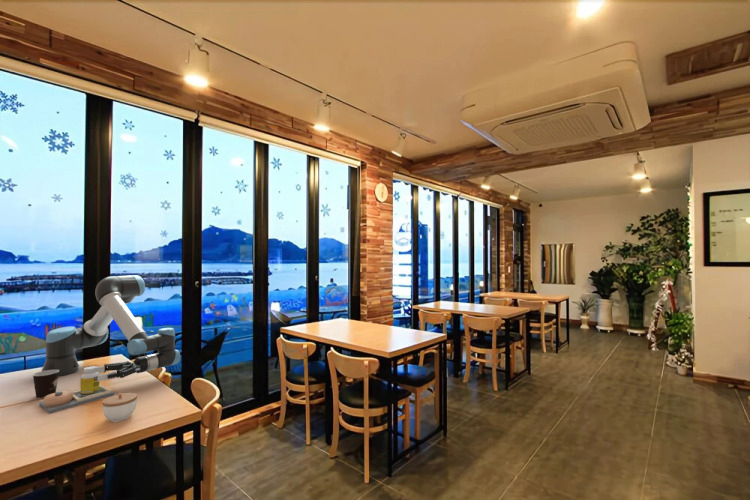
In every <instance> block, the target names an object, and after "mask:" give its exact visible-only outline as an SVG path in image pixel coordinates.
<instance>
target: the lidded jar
mask: <svg viewBox="0 0 750 500" xmlns="http://www.w3.org/2000/svg"><path fill="white" fill-rule="evenodd" d="M137 398H138V394H137V393H134V392H124V393H123V392H122V393H121V392H120V393H118V394H115V395H113V396H110V397H107V398H103V399H102V412H103V415H104V417H105V419H106V420H108V421H109V422H110V421H111V422H110V423H118V422H117V421H119V422H123V421H125V419H126V420H127V418H128V417H129V416H132V414H133V413H134V412H135V410H136V407H137ZM129 418H130V417H129ZM129 418H128V419H129ZM122 420H123V421H122Z"/></svg>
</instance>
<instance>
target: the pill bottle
mask: <svg viewBox="0 0 750 500" xmlns="http://www.w3.org/2000/svg"><path fill="white" fill-rule="evenodd" d="M97 367H98V366H97V365H92V366H86V367H84V368H83V372H84V373H82V374H81V376H80V395H81V396H90V395H94V394H97V393H98V392H99V385H100V382H97V381H98V375H101V374H100V373H99V372H96V370H97Z"/></svg>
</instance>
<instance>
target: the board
mask: <svg viewBox="0 0 750 500" xmlns="http://www.w3.org/2000/svg"><path fill="white" fill-rule="evenodd" d="M80 390H81V389H80ZM80 390H75V391H71V390H61V391H56V393H52V394H49V395H47V396H45V397H44V398H43V400H42V401H39V404H38V405H39V407H40V408H42V409H43V410H44V411H46V412H47V413H48V414H52V413H55V412H60V411H62V410H66V409H70V408H73V407H74V408H75V407H77V406H81V405H84V404H85V405H86V404H88V403H93V402H95V401H100V400H104V399H106V398H108V397H110V396H113V395H116V393H115V392H114V391H113V390H111V389H109V388H107V387H106V386H104V385H102V384H99V392H98V393H97V394H94V395H90V396H81V395H80Z"/></svg>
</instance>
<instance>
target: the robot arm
mask: <svg viewBox="0 0 750 500" xmlns="http://www.w3.org/2000/svg"><path fill="white" fill-rule="evenodd" d="M145 291H146V283H145V281H144V279H143V278H142V276H140V275H137V274H136V275H133V274H132V275H118V276H117V275H116V276H114V275H113V276H107V277H104V278H103V279H101V280H100V281H99V282H98V283H97V284H96V287H95V291H94V292H95V293H94V294H95V298H96V301H97V302H98V303H99V304H98V305H100V307H99V309H98V310H97V312H96V313H95V314H94V315H93V317H92V318H91V319H89V320H87V321H85V323H84V324H83V325H82V326H81V327H75V326H73V325H72V326H64V327H63V326H62V327H59V328H55V329H52V330H50V331H48V332H47V334H46V338H45V339H46V340H45V362H44V363H43V366H42V368H41V371H47V370H59V376H58V377H60V376H62V377H63V376H67V375H71V374H73V373H74V374H75V373H77V372H79V370H80V365H79V363H78V360H77V356H76V350H77V351H78V350H81V349H85V348H91V347H96V346H98V345H101V344H103V343H105V342H106V341H107V339H108V338H109V328H108V326H110V324H111V322H113V321H114V322H115V324H116V326H117V327H118V328H119V330H120V331H121V332H122V334H123V335H124V337H125V338H126V340H127V341H128V342H127V345H126V348H127V352H128V354H129V355H131V356H138V357H135V359H134V361H133V362H131V361H129V360H127V361H121V362H113V363H105V364H104V365H102V366H97V370H96V372H99V374H100V373H101V374H100V375H98V381H97V382H99V383H100V382H103V381H107V380H111V379H115V378H118V379H123V378H126V377H128V376H130V375H134V374H135V373H136V374H141V373H145V372H148V371H151V372H153V370H156V369H162V368H166V367H171V366H173V365H177V364H178V363H180V360H181V353H180V351H179V350H178V349H175V348H176V347H175V344H176V342H175V341H176V332H175V328H174V327H163V328H159V329H158V330H157V333H156V334H152V335H148V334H147V333H146V331H145V330H144V329H143V327H142V325H140V323H139V321H138V320H137V318H136V317H135V315H134V314H133V313H132V311H131V310H130V309H129V307H128V306H127V304H129V303H131V302H132V301H133V300H134V299H135V297H141V296H143V294H144V293H145ZM152 351H153V352H154V351H157V353H153V354H152V353H151V354H148V355H143V354H146V353H150V352H152ZM139 355H143V356H139ZM109 371H111V372H109Z"/></svg>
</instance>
